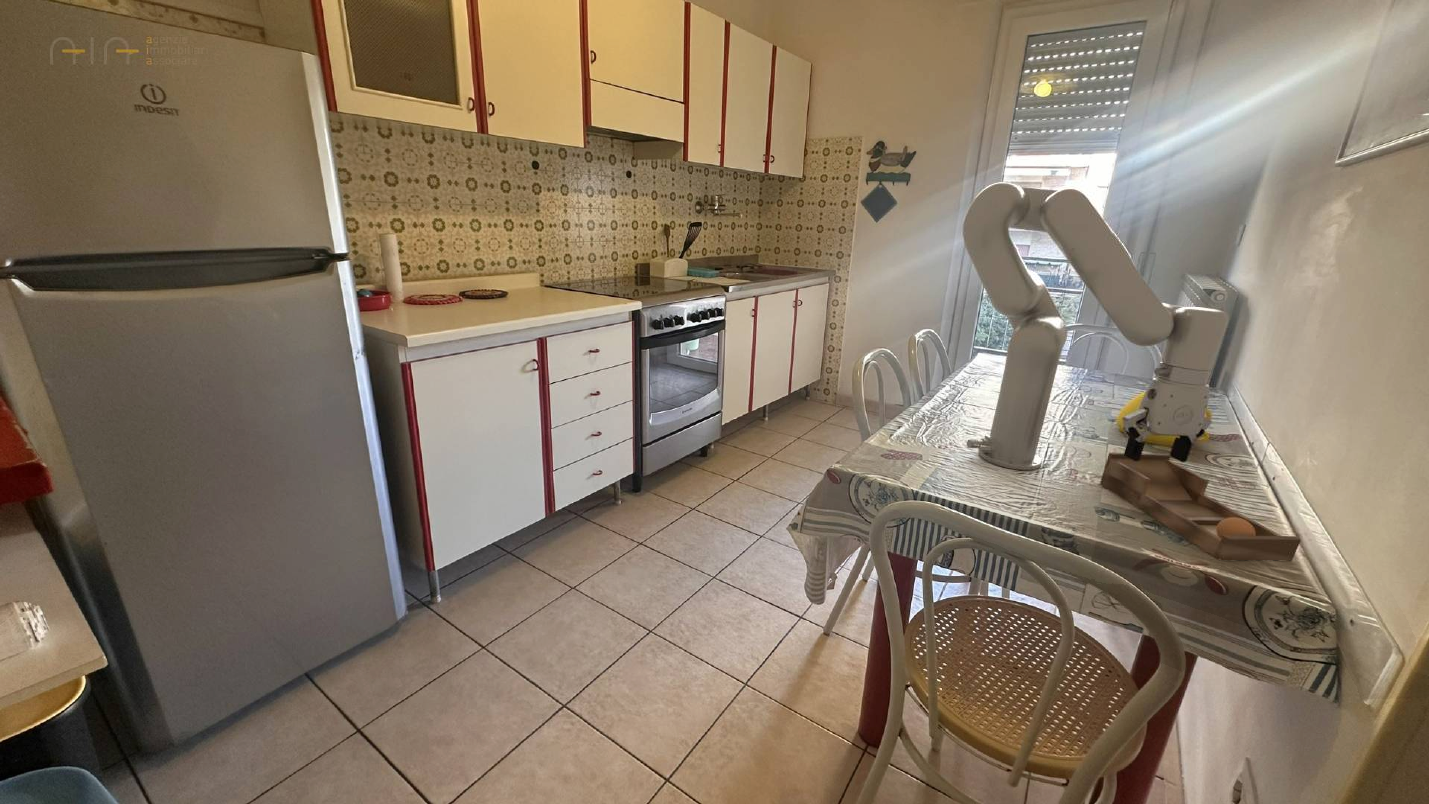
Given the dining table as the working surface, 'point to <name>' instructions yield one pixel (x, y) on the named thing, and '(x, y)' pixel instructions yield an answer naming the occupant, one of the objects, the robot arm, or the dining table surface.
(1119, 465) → the lane
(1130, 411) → the teapot
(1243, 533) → the ball
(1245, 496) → the dining table surface
